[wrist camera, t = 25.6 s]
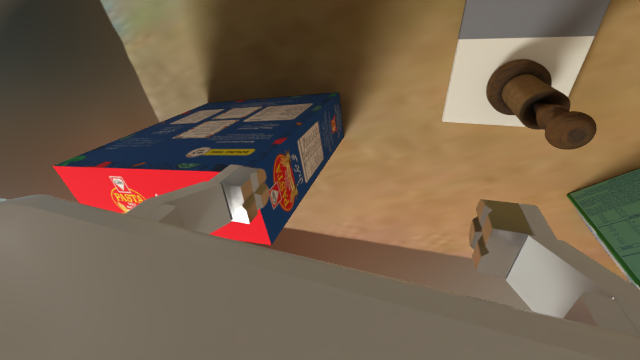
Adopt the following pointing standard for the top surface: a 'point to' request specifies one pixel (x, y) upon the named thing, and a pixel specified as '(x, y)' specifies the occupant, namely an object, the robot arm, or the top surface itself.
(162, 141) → the pasta box
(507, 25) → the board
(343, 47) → the top surface
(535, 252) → the robot arm
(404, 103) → the top surface
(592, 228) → the milk carton
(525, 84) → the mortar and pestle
